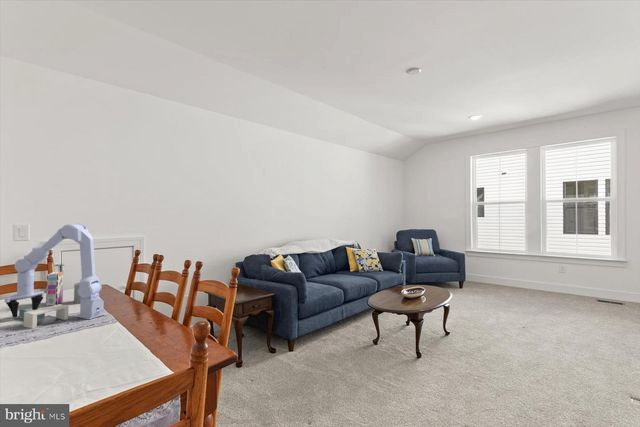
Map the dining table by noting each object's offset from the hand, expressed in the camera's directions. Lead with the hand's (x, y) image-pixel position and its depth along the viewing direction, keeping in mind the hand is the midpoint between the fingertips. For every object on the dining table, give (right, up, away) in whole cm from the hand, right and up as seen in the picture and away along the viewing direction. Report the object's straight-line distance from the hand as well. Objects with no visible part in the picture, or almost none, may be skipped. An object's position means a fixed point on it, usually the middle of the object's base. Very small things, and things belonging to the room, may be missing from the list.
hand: (24, 314), depth 153 cm
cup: (+6, -2, +29) cm, 30 cm away
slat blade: (+5, -2, -2) cm, 5 cm away
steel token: (+14, -2, -6) cm, 16 cm away
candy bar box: (-5, -2, +24) cm, 25 cm away
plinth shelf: (+15, -2, -6) cm, 17 cm away
